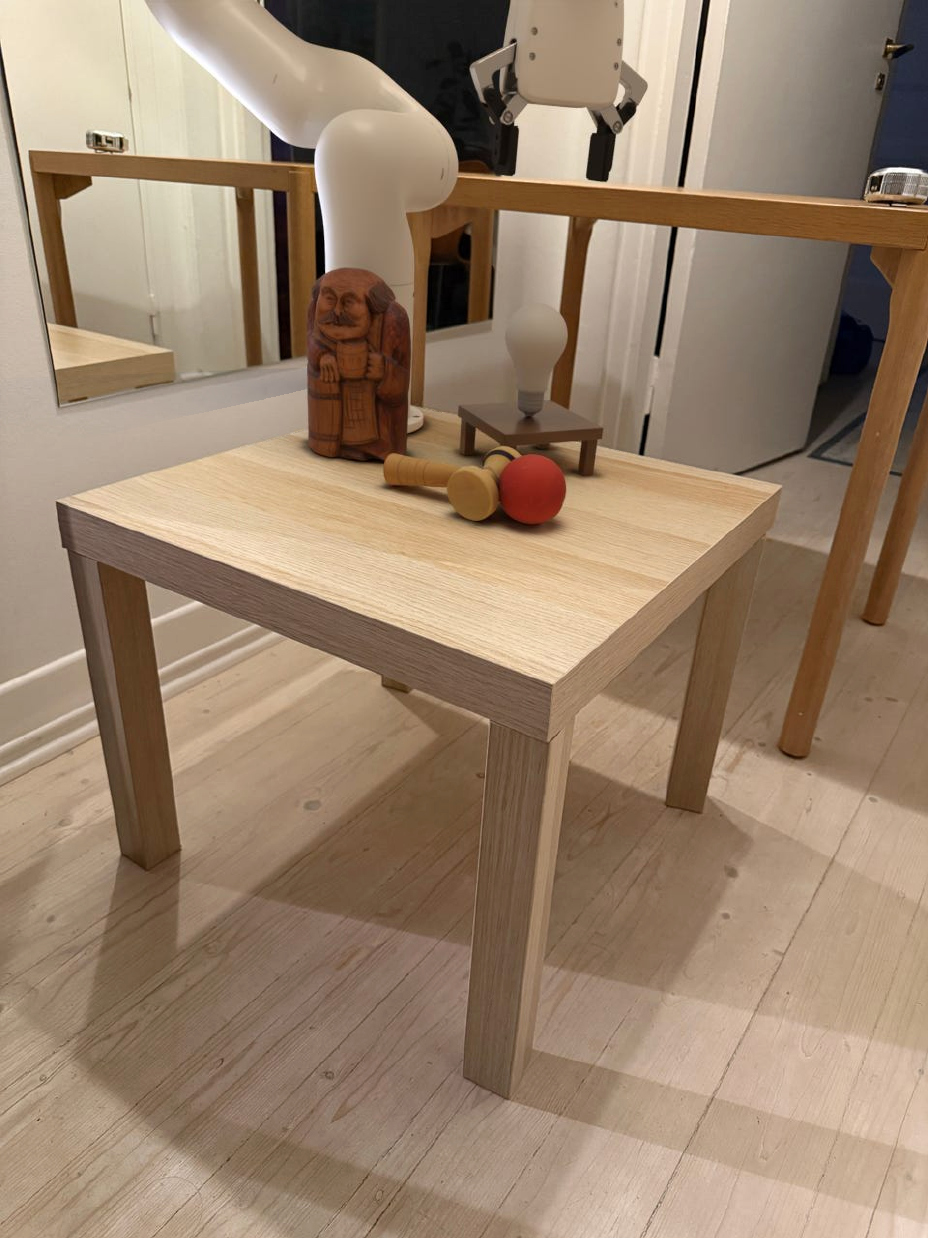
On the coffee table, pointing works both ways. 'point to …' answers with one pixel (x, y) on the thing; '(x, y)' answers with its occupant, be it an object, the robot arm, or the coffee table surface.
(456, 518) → the coffee table surface
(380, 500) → the coffee table surface
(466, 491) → the kendama
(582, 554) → the coffee table surface
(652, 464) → the coffee table surface
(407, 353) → the wooden figurine
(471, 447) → the desk
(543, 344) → the lightbulb
